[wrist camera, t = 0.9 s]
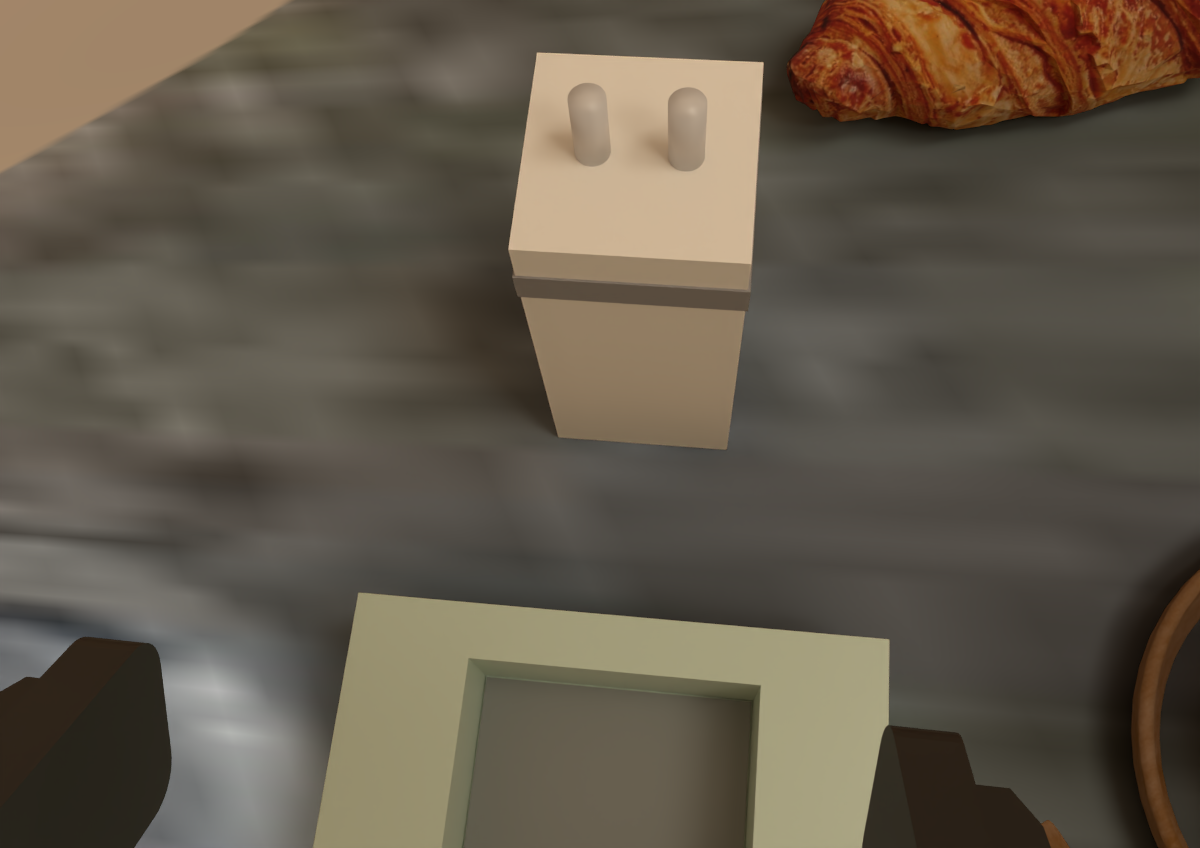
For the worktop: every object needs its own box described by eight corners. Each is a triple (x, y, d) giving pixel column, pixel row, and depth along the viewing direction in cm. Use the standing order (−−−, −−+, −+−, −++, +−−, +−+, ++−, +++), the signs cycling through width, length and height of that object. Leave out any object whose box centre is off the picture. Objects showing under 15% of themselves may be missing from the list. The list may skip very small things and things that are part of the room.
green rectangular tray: (867, 661, 28) (889, 639, 25) (860, 1078, 25) (884, 1106, 22) (388, 618, 29) (358, 592, 26) (323, 1012, 26) (280, 1030, 23)
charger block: (738, 296, 32) (772, 2, 21) (728, 451, 30) (760, 220, 19) (574, 286, 32) (525, -7, 21) (555, 438, 30) (492, 205, 20)
